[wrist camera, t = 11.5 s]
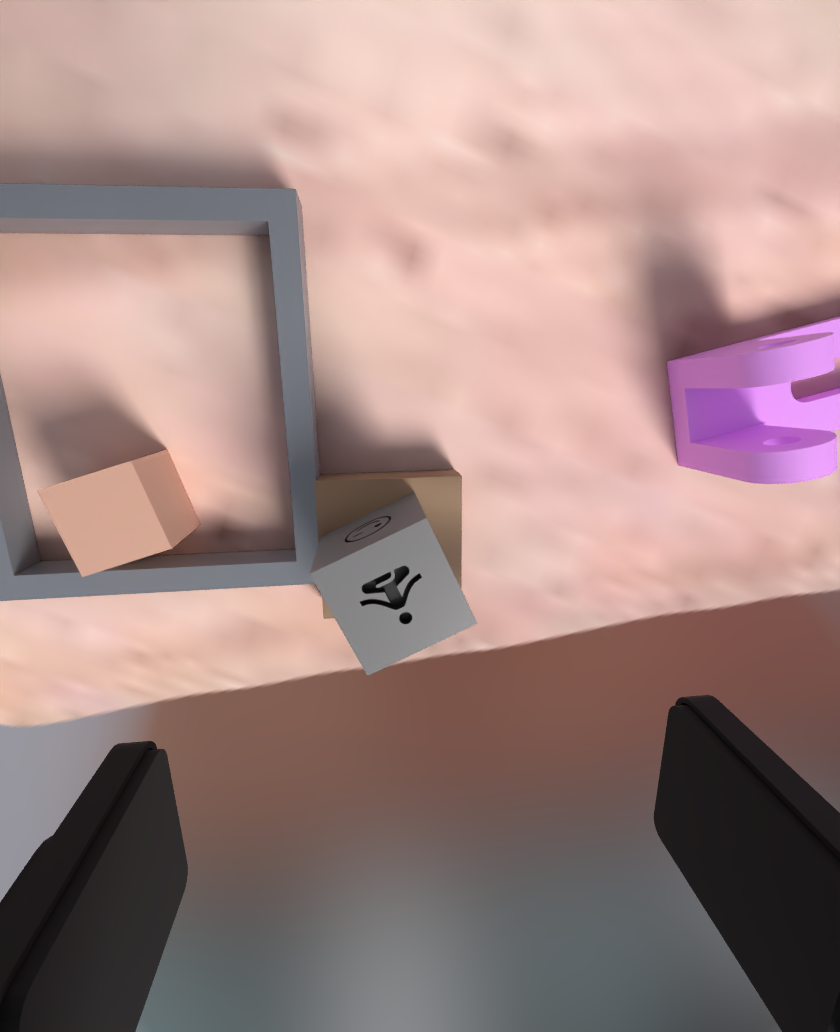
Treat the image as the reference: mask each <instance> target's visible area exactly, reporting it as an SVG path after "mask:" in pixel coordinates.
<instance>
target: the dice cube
mask: <svg viewBox="0 0 840 1032" xmlns="http://www.w3.org/2000/svg"><path fill="white" fill-rule="evenodd" d="M310 576H311V577H312V579H313V581H314V583H315V584H316V586H317V588H318V590H319V591H320V593H321V595H322V597H323V598H324V600H325V602H326V604H327V605H328V607H329V609H330V611H331V612H332V614H333V616H334V618H335V619H336V621H337V623H338V625H339V626H340V628H341V630H342V632H343V633H344V635H345V637H346V639H347V640H348V642H349V644H350V646H351V647H352V649H353V651H354V653H355V654H356V656H357V658H358V660H359V661H360V663H361V665H362V667H363V668H364V670H365V672H366V674H367V675H370V674H372V673H374V672H376V671H379V670H381V669H383V668H385V667H387V666H389V665H391V664H393V663H395V662H397V661H400V660H402V659H404V658H406V657H408V656H410V655H412V654H414V653H416V652H419V651H421V650H423V649H425V648H427V647H429V646H431V645H433V644H435V643H437V642H440V641H442V640H444V639H446V638H448V637H450V636H452V635H454V634H456V633H459V632H461V631H463V630H465V629H467V628H469V627H471V626H473V625H475V624H477V622H476V620H475V618H474V615H473V613H472V611H471V609H470V607H469V605H468V603H467V601H466V598H465V596H464V594H463V592H462V590H461V588H460V586H459V584H458V581H457V579H456V577H455V575H454V573H453V571H452V569H451V567H450V565H449V563H448V561H447V558H446V556H445V554H444V552H443V550H442V548H441V546H440V544H439V542H438V540H437V538H436V536H435V534H434V531H433V529H432V527H431V525H430V523H429V521H428V519H427V517H426V515H425V513H424V511H423V509H422V506H421V504H420V502H419V500H418V498H417V496H416V494H415V492H414V493H411V494H409V495H407V496H405V497H403V498H401V499H399V500H397V501H395V502H393V503H391V504H389V505H386V506H384V507H382V508H380V509H378V510H376V511H374V512H372V513H370V514H368V515H366V516H364V517H361V518H359V519H357V520H355V521H353V522H351V523H349V524H347V525H345V526H343V527H341V528H339V529H336V530H334V531H332V532H330V533H328V534H326V535H324V536H322V537H321V538H320V542H319V545H318V548H317V551H316V555H315V558H314V561H313V564H312V568H311V571H310Z"/></svg>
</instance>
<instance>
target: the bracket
mask: <svg viewBox="0 0 840 1032" xmlns="http://www.w3.org/2000/svg"><path fill="white" fill-rule="evenodd" d="M837 357H840V316H838V317H834V318H831V319H827V320H823V321H819V322H815V323H812V324H808V325H804V326H800V327H796V328H793V329H789V330H785V331H781V332H777V333H774V334H770V335H766V336H762V337H758V338H754V339H751V340H747V341H743V342H739V343H735V344H732V345H728V346H724V347H720V348H716V349H713V350H709V351H705V352H701V353H697V354H694V355H690V356H686V357H682V358H678V359H674V360H671V361H667V367H668V376H669V385H670V394H671V403H672V412H673V421H674V430H675V439H676V449H677V458H678V465H679V466H683V467H687V468H691V469H695V470H700V471H704V472H708V473H712V474H716V475H720V476H724V477H728V478H732V479H737V480H741V481H745V482H750V483H759V484H783V483H794V482H802V481H808V480H813V479H817V478H821V477H824V476H827V475H829V474H831V473H833V472H835V471H836V470H837V437H836V434H835V433H833V432H831V431H834V430H838V429H840V388H837V389H833V390H829V391H826V392H822V393H818V394H815V395H811V396H807V397H803V398H800V399H795V398H794V397H793V395H792V393H791V382H793V381H798V380H803V379H807V378H812V377H815V376H819V375H823V374H826V373H828V372H831V371H833V370H834V369H835V358H837Z"/></svg>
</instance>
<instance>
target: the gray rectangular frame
mask: <svg viewBox="0 0 840 1032" xmlns="http://www.w3.org/2000/svg"><path fill="white" fill-rule="evenodd" d="M0 233H78V234H176V235H269V237H270V249H271V261H272V273H273V285H274V297H275V309H276V321H277V333H278V344H279V356H280V368H281V380H282V392H283V404H284V416H285V428H286V440H287V452H288V464H289V476H290V488H291V500H292V512H293V524H294V536H295V548H296V549H286V550H265V551H244V552H224V553H203V554H182V555H161V556H147V557H144V558H141V559H138V560H135V561H131V562H128V563H125V564H122V565H119V566H116V567H113V568H109V569H106V570H103V571H100V572H97V573H94V574H91V575H88V576H84V577H82V576H81V574H80V572H79V570H78V568H77V566H76V564H75V562H74V560H58V561H41V560H40V555H39V550H38V546H37V541H36V537H35V532H34V527H33V523H32V518H31V514H30V509H29V504H28V500H27V495H26V491H25V486H24V481H23V477H22V472H21V468H20V463H19V458H18V454H17V449H16V445H15V440H14V435H13V431H12V426H11V422H10V417H9V412H8V408H7V403H6V399H5V394H4V389H3V385H2V380H1V376H0V601H8V600H27V599H45V598H63V597H81V596H99V595H118V594H136V593H154V592H172V591H191V590H209V589H227V588H245V587H264V586H282V585H300V584H315V583H314V581H313V579H312V577H311V576H310V571H311V568H312V564H313V561H314V558H315V555H316V551H317V548H318V531H317V517H316V503H315V489H314V481H317V479H318V477H319V475H320V467H319V453H318V438H317V423H316V409H315V394H314V379H313V365H312V350H311V335H310V321H309V306H308V291H307V277H306V262H305V247H304V233H303V218H302V206H301V203H300V200H299V197H298V194H297V191H296V189H277V188H224V187H171V186H118V185H65V184H12V183H0Z"/></svg>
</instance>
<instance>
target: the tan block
mask: <svg viewBox="0 0 840 1032" xmlns="http://www.w3.org/2000/svg"><path fill="white" fill-rule="evenodd" d="M314 489H315V503H316V517H317V531H318V545H319V542H320V538H321V537H322V536H324V535H326V534H328V533H330V532H332V531H334V530H336V529H339V528H341V527H343V526H345V525H347V524H349V523H351V522H353V521H355V520H357V519H359V518H361V517H364V516H366V515H368V514H370V513H372V512H374V511H376V510H378V509H380V508H382V507H384V506H386V505H389V504H391V503H393V502H395V501H397V500H399V499H401V498H403V497H405V496H407V495H409V494H411V493H414V492H415V494H416V496H417V498H418V500H419V502H420V504H421V506H422V509H423V511H424V513H425V515H426V517H427V519H428V521H429V523H430V525H431V527H432V529H433V531H434V534H435V536H436V538H437V540H438V542H439V544H440V546H441V548H442V550H443V552H444V554H445V556H446V558H447V561H448V563H449V565H450V567H451V569H452V571H453V573H454V575H455V577H456V579H457V581H458V584H459V586H460V588H461V541H462V476H461V475H460V474H459V473H458V472H457V471H456V470H428V471H399V472H369V473H340V474H320V475H319V477H318V479H317V481H314ZM322 601H323V615H324V619H327V618H334V616H333V614H332V612H331V611H330V609H329V607H328V605H327V604H326V602H325V600H324V598H323V597H322Z"/></svg>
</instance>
